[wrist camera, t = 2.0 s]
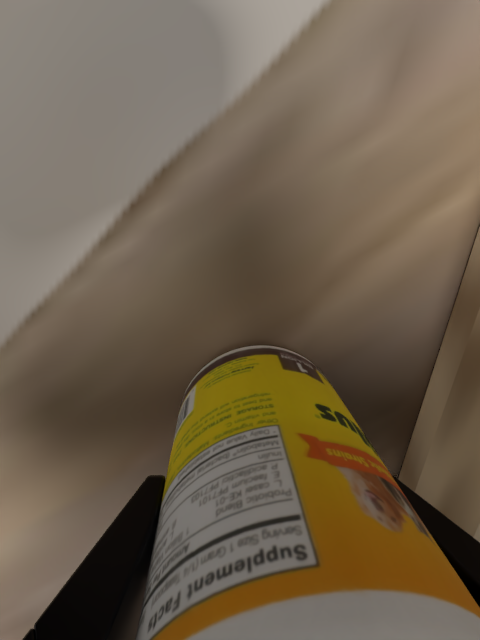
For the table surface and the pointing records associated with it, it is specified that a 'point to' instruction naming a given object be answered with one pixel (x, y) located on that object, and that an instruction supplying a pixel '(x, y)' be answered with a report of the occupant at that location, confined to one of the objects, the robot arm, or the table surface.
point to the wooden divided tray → (452, 415)
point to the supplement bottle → (289, 520)
